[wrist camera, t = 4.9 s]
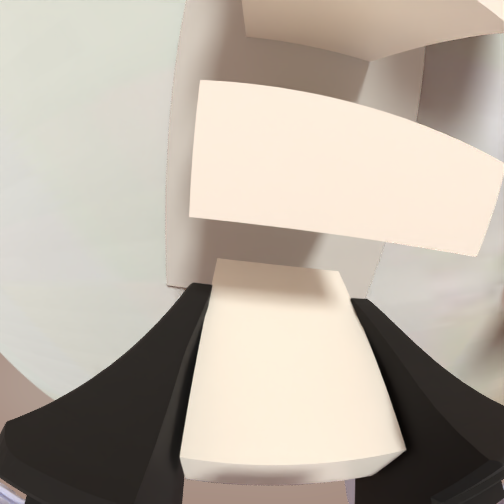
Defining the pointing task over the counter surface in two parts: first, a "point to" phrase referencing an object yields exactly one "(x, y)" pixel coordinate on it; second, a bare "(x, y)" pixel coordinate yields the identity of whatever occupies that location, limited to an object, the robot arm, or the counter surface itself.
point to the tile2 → (337, 169)
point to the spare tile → (285, 383)
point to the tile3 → (371, 23)
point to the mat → (283, 76)
